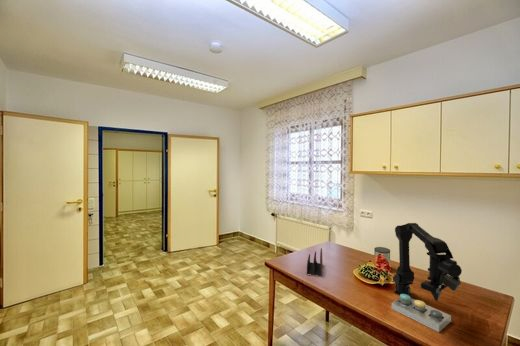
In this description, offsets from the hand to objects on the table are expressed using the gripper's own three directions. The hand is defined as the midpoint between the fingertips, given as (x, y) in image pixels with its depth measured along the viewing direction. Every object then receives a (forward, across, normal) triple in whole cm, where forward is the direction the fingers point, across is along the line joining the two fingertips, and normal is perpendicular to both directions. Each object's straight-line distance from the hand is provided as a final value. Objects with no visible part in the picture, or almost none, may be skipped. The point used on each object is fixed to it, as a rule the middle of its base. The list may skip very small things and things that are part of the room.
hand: (436, 300), depth 112 cm
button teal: (+9, 0, +14) cm, 17 cm away
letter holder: (+11, -6, +73) cm, 74 cm away
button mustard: (+9, 0, +7) cm, 11 cm away
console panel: (+11, 0, +7) cm, 13 cm away
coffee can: (+11, +36, +47) cm, 60 cm away
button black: (+10, 0, 0) cm, 10 cm away
